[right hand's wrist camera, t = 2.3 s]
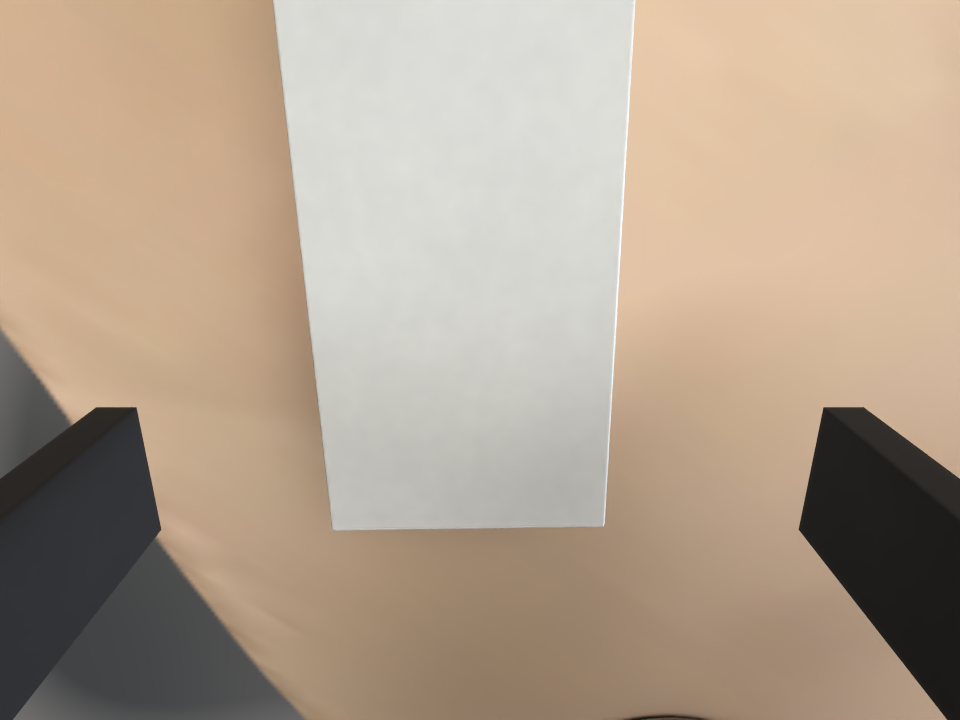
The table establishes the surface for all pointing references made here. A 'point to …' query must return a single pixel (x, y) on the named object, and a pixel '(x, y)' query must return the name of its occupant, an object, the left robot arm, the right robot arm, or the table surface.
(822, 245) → the table surface
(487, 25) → the wide beam
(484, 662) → the table surface
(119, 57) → the table surface
